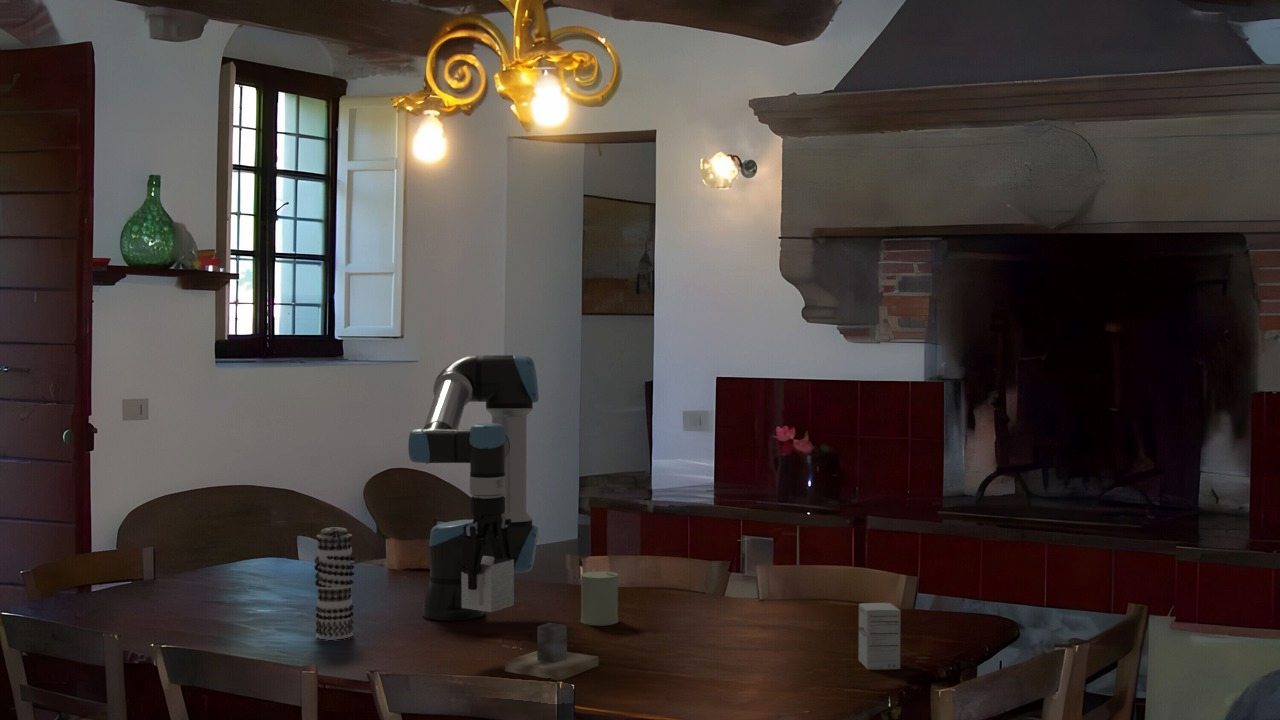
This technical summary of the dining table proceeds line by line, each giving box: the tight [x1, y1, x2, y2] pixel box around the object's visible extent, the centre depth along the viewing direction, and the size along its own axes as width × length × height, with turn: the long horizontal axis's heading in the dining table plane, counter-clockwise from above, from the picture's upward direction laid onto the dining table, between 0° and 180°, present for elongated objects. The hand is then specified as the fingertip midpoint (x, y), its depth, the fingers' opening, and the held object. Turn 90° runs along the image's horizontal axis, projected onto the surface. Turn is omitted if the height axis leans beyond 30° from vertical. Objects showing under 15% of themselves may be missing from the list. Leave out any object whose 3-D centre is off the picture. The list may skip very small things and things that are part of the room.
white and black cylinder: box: [313, 526, 356, 639], centre depth 309 cm, size 9×9×25 cm
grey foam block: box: [461, 556, 515, 613], centre depth 288 cm, size 8×8×10 cm
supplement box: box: [858, 602, 902, 671], centre depth 283 cm, size 7×7×13 cm
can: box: [580, 570, 619, 627], centre depth 326 cm, size 9×9×12 cm
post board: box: [504, 622, 599, 682], centre depth 279 cm, size 14×14×9 cm
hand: (487, 600), depth 288 cm, fingers closed on grey foam block, 8 cm apart
